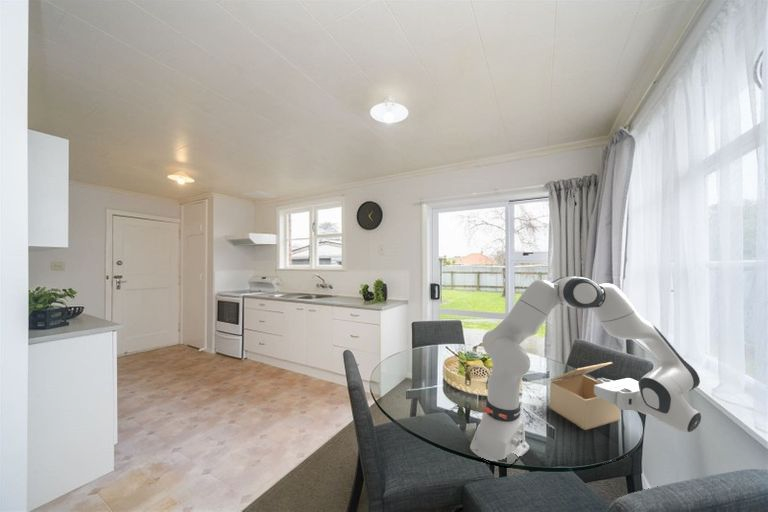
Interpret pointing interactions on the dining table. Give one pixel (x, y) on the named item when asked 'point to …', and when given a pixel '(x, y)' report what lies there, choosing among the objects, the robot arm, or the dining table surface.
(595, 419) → the carton
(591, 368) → the carton flap
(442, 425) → the dining table surface
